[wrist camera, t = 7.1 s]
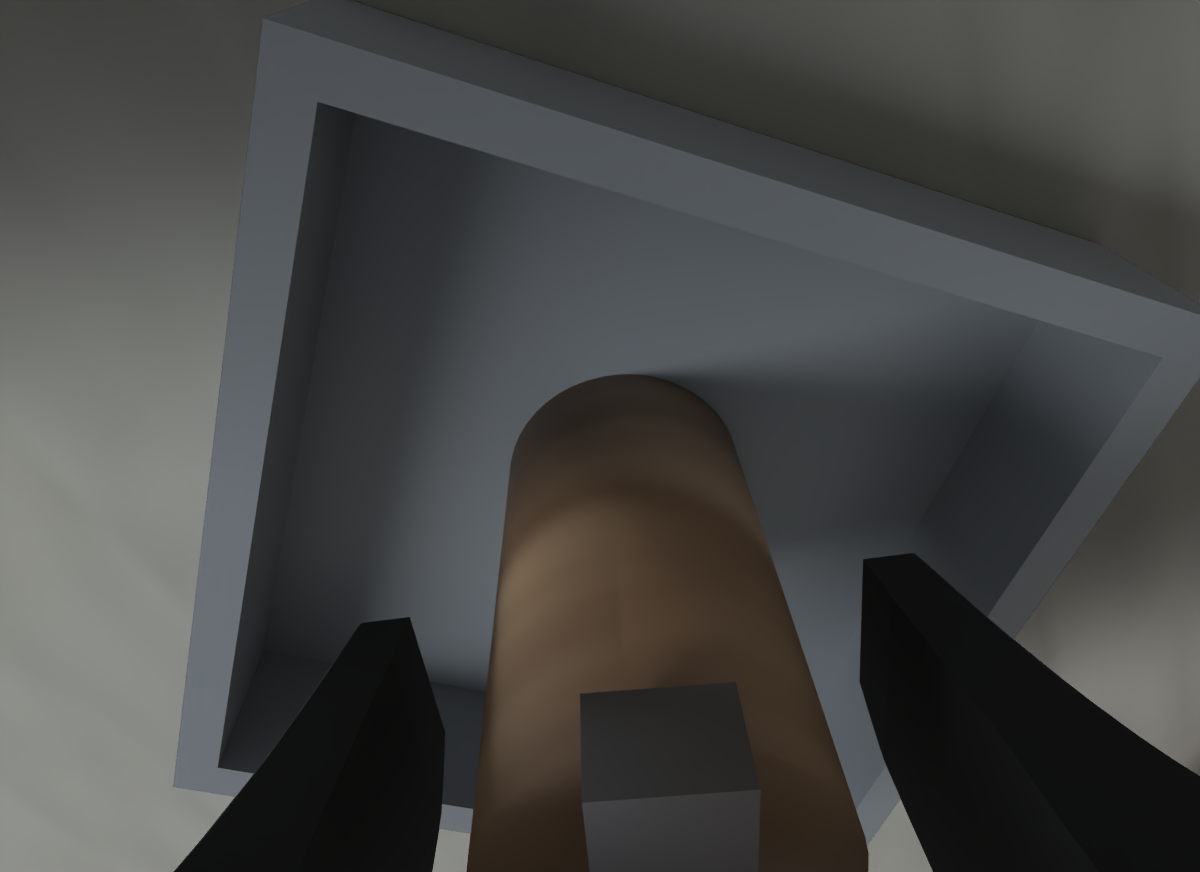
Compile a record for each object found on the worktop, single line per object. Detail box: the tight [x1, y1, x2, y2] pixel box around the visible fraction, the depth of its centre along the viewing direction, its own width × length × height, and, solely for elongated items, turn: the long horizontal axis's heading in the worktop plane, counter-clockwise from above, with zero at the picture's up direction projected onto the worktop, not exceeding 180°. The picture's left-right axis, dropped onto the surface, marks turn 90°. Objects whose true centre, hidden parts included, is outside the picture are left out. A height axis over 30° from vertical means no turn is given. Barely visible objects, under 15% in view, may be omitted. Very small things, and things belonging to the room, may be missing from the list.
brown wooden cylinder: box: [467, 374, 868, 872], centre depth 11 cm, size 4×5×8 cm
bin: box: [173, 0, 1200, 845], centre depth 13 cm, size 11×11×3 cm
